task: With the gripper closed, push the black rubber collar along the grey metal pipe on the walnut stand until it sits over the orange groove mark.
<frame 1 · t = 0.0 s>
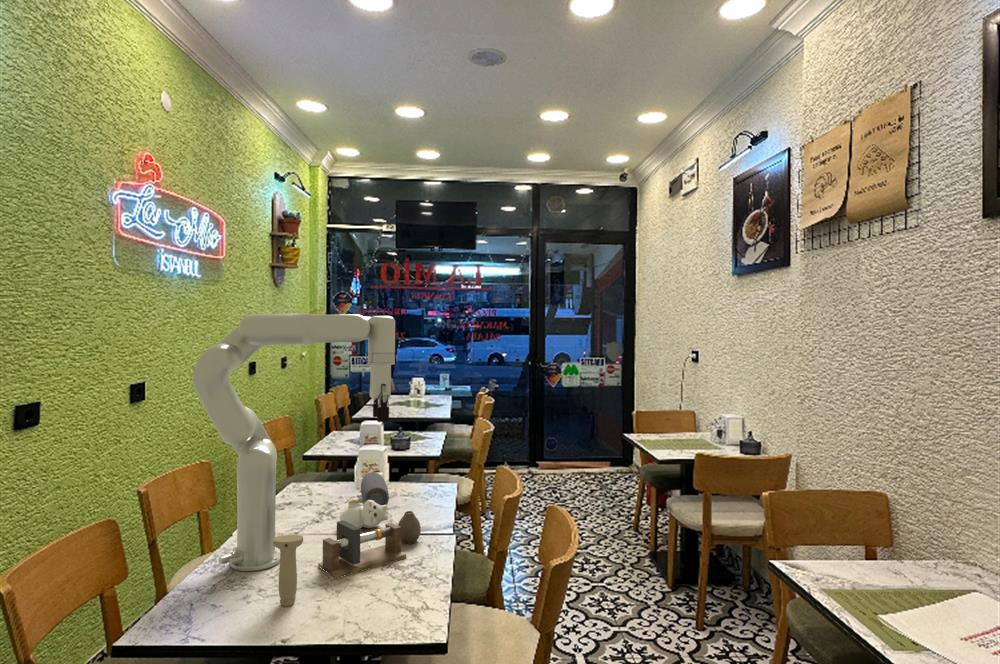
hand: (380, 419, 172), 37 cm above the table, tool pointing down, fingers open, 9 cm apart
handle: (287, 604, 138), on the table
stand: (363, 562, 163), on the table
pipe: (363, 538, 163), point 6 cm above the table
cat figurine: (364, 528, 192), on the table
bluetooth speaker: (374, 506, 216), on the table
vase: (408, 542, 180), on the table
collar: (348, 542, 160), point 7 cm above the table, slide at 0.0 cm
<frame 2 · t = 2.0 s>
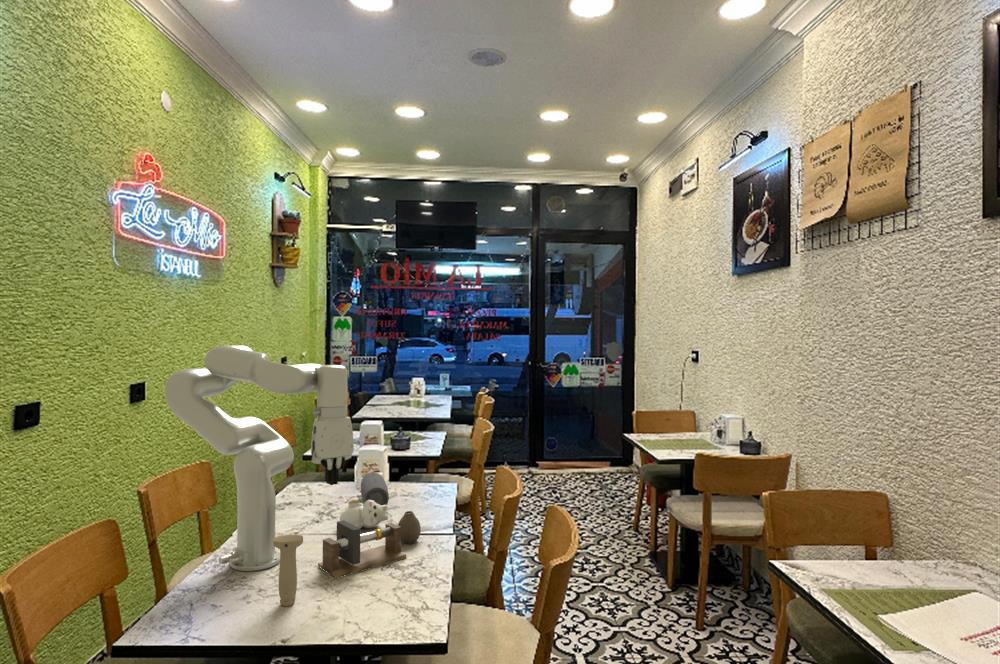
hand: (331, 483, 157), 23 cm above the table, tool pointing down, fingers closed
nothing on the table moved.
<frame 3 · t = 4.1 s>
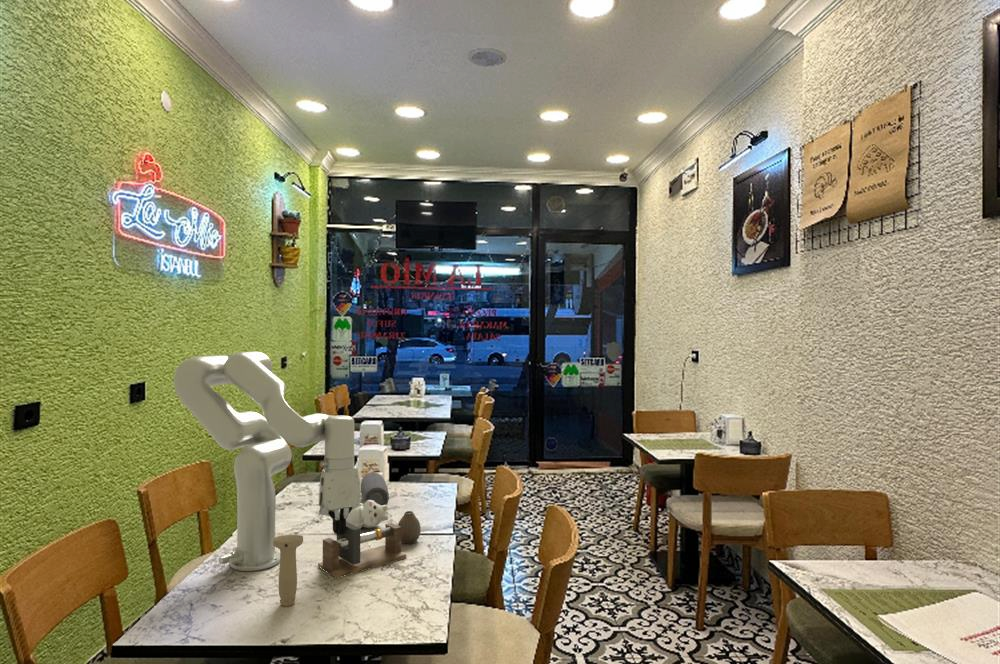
hand: (339, 533, 158), 9 cm above the table, tool pointing down, fingers closed
collar: (348, 542, 160), point 7 cm above the table, slide at 0.0 cm, touching gripper
everything else where it was.
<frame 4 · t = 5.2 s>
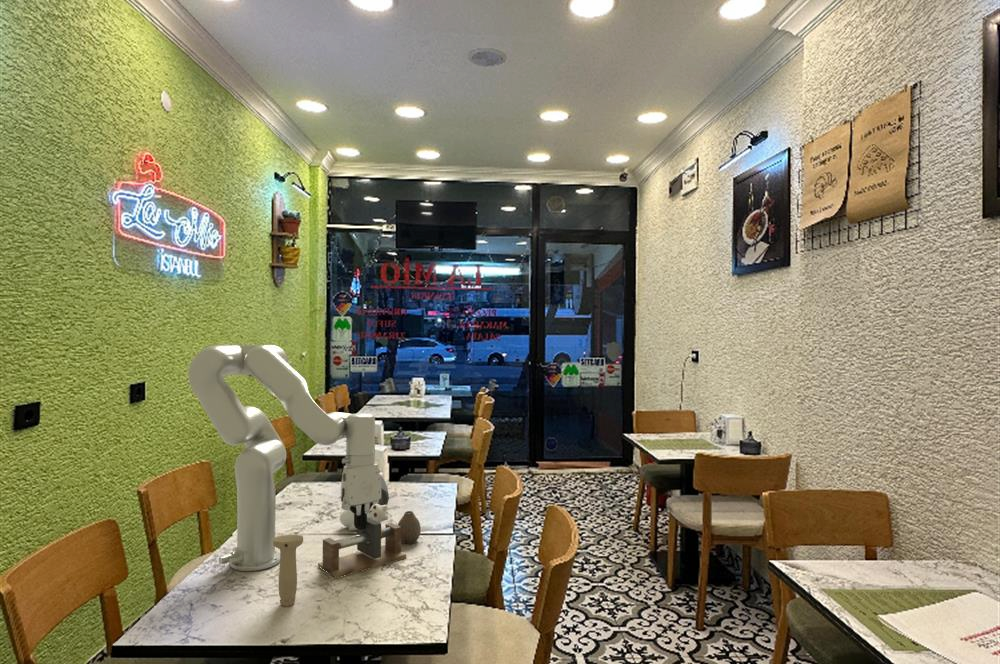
hand: (360, 528, 162), 9 cm above the table, tool pointing down, fingers closed
collar: (369, 536, 164), point 7 cm above the table, slide at 6.3 cm, touching gripper
everything else where it was.
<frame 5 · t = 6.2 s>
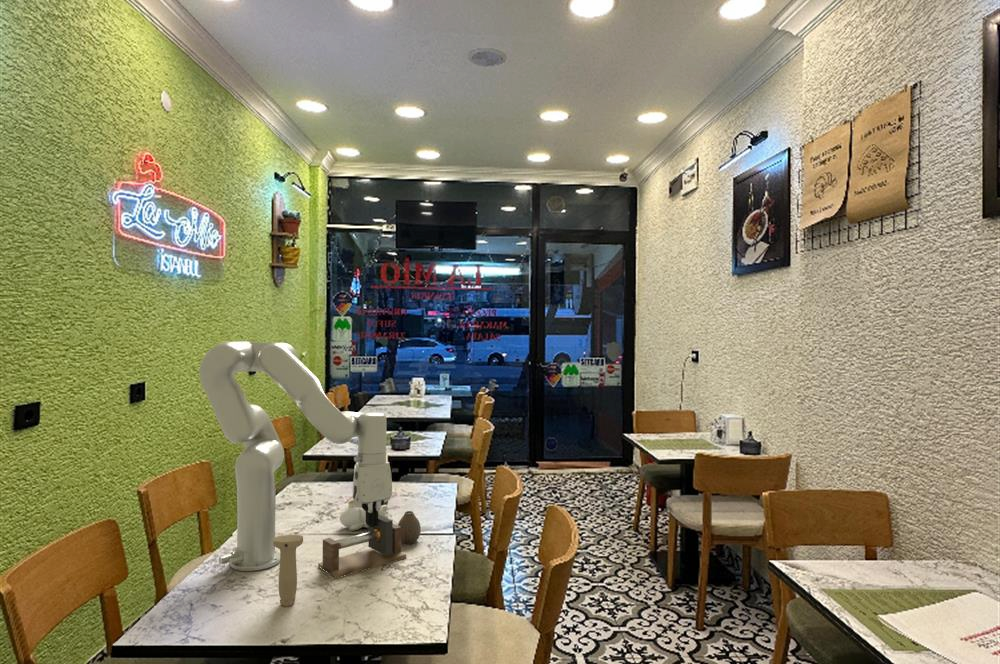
hand: (371, 525, 165), 9 cm above the table, tool pointing down, fingers closed
collar: (380, 533, 167), point 7 cm above the table, slide at 9.8 cm, touching gripper
everything else where it was.
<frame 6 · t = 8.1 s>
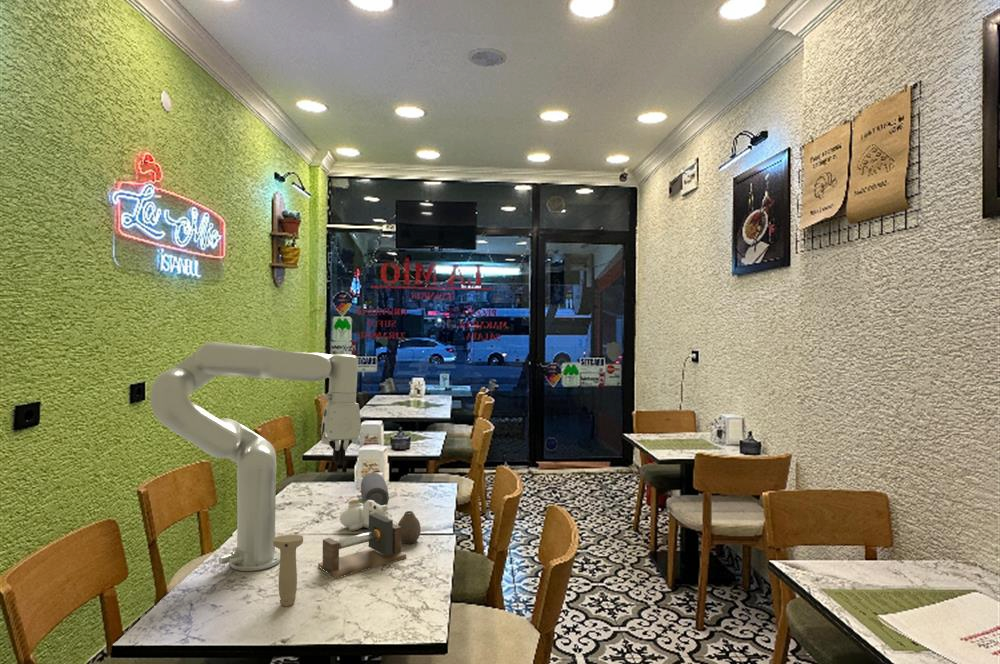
hand: (338, 463, 170), 25 cm above the table, tool pointing down, fingers closed
collar: (380, 533, 167), point 6 cm above the table, slide at 9.8 cm
everything else where it was.
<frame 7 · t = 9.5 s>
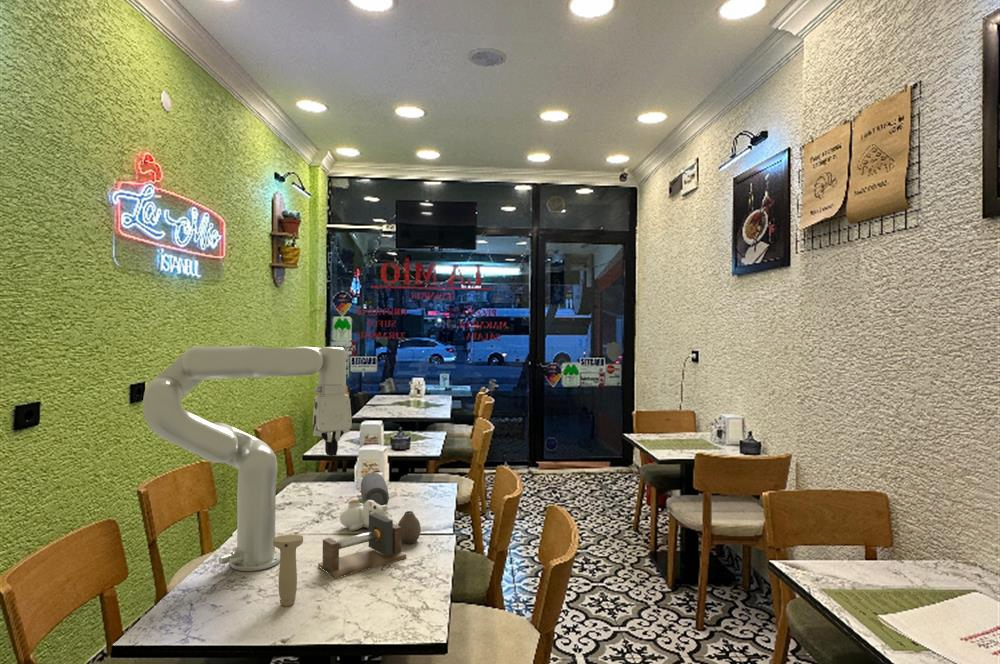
hand: (331, 455, 172), 27 cm above the table, tool pointing down, fingers closed
nothing on the table moved.
at the end: collar slide at 9.8 cm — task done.
